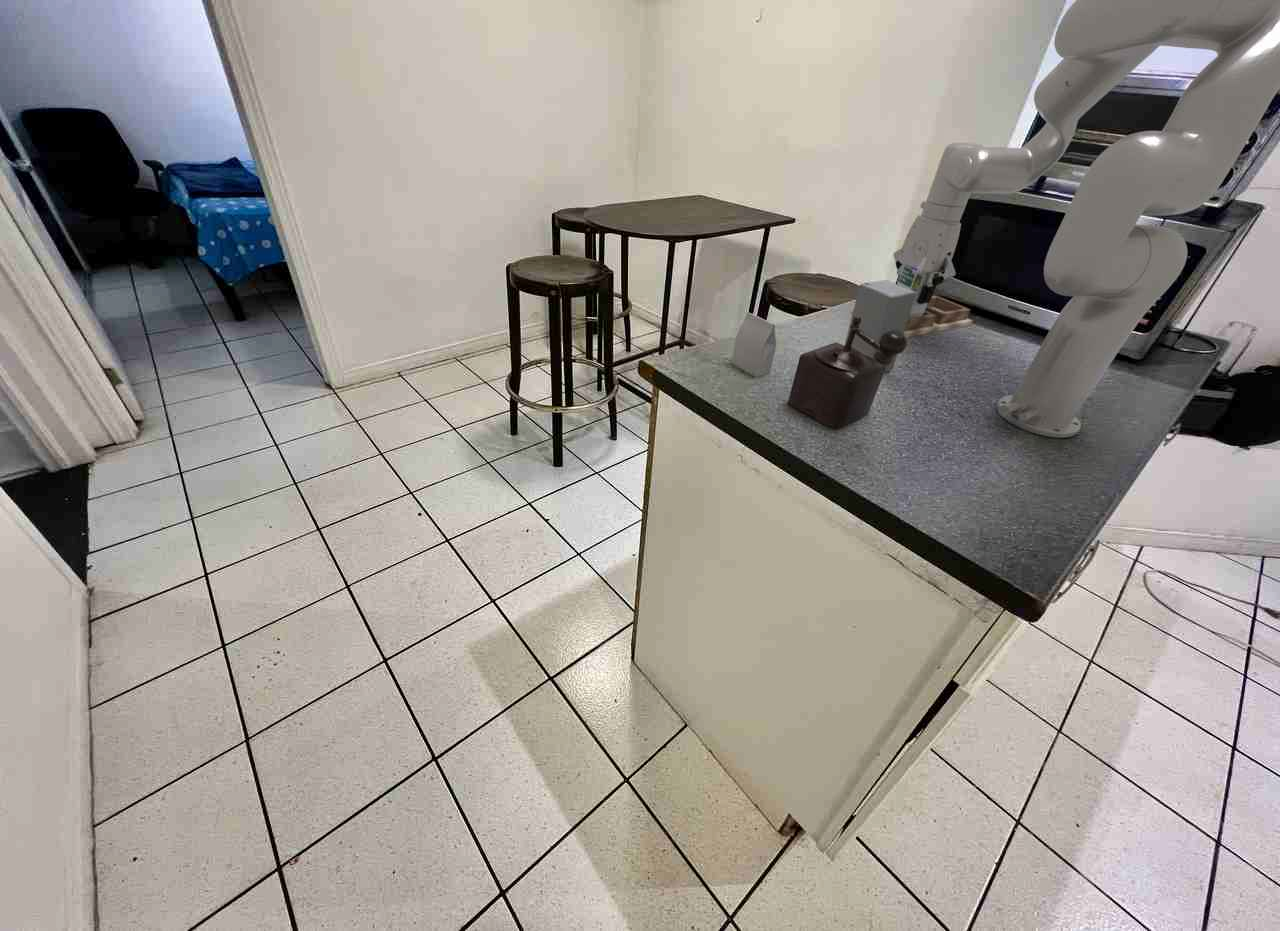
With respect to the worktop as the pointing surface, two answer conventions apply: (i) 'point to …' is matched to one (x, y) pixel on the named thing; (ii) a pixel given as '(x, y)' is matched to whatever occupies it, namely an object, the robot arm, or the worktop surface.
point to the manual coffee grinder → (842, 378)
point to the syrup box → (914, 285)
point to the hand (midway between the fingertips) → (910, 297)
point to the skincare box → (881, 313)
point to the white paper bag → (755, 346)
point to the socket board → (937, 317)
